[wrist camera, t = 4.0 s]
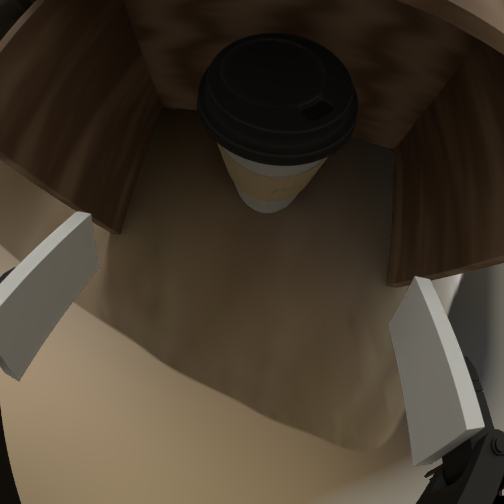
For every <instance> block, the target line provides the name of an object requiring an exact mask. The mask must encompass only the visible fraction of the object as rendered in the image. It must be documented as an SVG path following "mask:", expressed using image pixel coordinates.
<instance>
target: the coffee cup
mask: <svg viewBox="0 0 504 504" xmlns="http://www.w3.org/2000/svg"><path fill="white" fill-rule="evenodd" d="M197 109H198V114H199V118H200V120H201V123H202V124H203V126H204V128H205V129H206V131H207V132H208V134H209V135H210V136H211V137H212V138H213V139H214V140H215V141H216V142H217V144H218V147H219V149H220V152H221V155H222V157H223V160H224V162H225V165H226V168H227V170H228V173H229V175H230V177H231V179H232V180H233V181H234V184H235V186H236V189H237V191H238V193H239V196H240V197H241V199H242V200H243V201H244V203H245V204H247V205H248V206H249V207H250V208H252V209H253V210H255V211H258V212H261V213H274V212H278V211H280V210H282V209H284V208H286V207H287V206H288V205H289V204H290V203H291V202H292V201H293V200H294V199H295V197H296V196H297V195H298V193H299V192H300V191H301V190H303V189H304V188H305V187H306V186H307V184H308V183H309V182H310V180H311V179H312V178H313V176H314V175H315V174H316V172H317V171H318V170H319V168H320V167H321V166H322V164H323V163H324V162H325V160H326V159H327V158H328V156H330V155H331V154H333V153H335V152H336V151H337V150H339V149H340V148H341V147H342V146H343V145H344V144H345V143H346V142H347V141H348V139H349V138H350V136H351V134H352V133H353V130H354V128H355V125H356V121H357V114H358V97H357V94H356V90H355V88H354V86H353V83H352V80H351V77H350V74H349V72H348V70H347V69H346V67H345V66H344V64H343V63H342V62H341V61H340V59H339V58H338V57H337V56H335V55H334V54H333V53H332V52H331V51H329V50H328V49H326V48H325V47H323V46H321V45H320V44H318V43H316V42H313V41H311V40H309V39H306V38H303V37H299V36H295V35H290V34H282V33H264V34H257V35H252V36H248V37H244V38H242V39H239V40H237V41H235V42H233V43H231V44H229V45H228V46H226V47H225V48H224V49H222V50H221V51H220V52H219V53H218V54H217V55H216V56H215V58H214V59H213V61H212V63H211V64H210V65H209V66H208V68H207V69H206V71H205V72H204V74H203V76H202V78H201V80H200V83H199V87H198V96H197Z"/></svg>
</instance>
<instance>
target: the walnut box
mask: <svg viewBox="0 0 504 504" xmlns="http://www.w3.org/2000/svg"><path fill="white" fill-rule="evenodd" d="M264 33H282V34H290V35H295V36H299V37H303V38H306V39H309V40H311V41H313V42H316V43H318V44H320V45H321V46H323V47H325V48H326V49H328V50H329V51H331V52H332V53H333V54H334V55H335V56H337V57H338V58H339V59H340V61H341V62H342V63H343V64H344V66H345V67H346V69H347V70H348V72H349V74H350V77H351V80H352V83H353V86H354V88H355V90H356V94H357V97H358V114H357V121H356V125H355V128H354V130H353V133H352V134H351V136H350V137H351V138H355V139H358V140H362V141H366V142H369V143H373V144H376V145H380V146H383V147H386V148H390V149H393V150H394V191H393V218H392V235H391V248H390V259H389V269H388V278H387V286H392V287H402V286H407V285H410V284H411V282H412V281H413V279H414V277H415V276H417V277H422V278H427V279H430V280H435V279H439V278H444V277H448V276H452V275H457V274H461V273H465V272H469V271H473V270H477V269H481V268H485V267H489V266H493V265H497V264H501V263H504V0H36V1H35V2H34V3H33V4H32V5H31V7H30V8H29V9H28V10H27V11H26V12H25V13H24V14H23V15H22V16H21V17H20V18H19V20H18V21H17V22H16V23H15V24H14V25H13V26H12V28H11V29H10V30H9V31H8V32H7V34H6V35H5V36H4V37H3V39H2V40H1V41H0V160H2V161H3V162H4V163H6V164H7V165H9V166H10V167H11V168H13V169H14V170H16V171H17V172H18V173H20V174H21V175H23V176H24V177H26V178H27V179H29V180H30V181H31V182H33V183H34V184H36V185H37V186H39V187H40V188H42V189H43V190H45V191H46V192H48V193H49V194H51V195H52V196H54V197H55V198H57V199H58V200H60V201H61V202H63V203H64V204H66V205H67V206H69V207H70V208H72V209H74V210H75V211H79V212H84V213H90V214H91V216H92V222H94V223H96V224H97V225H99V226H100V227H102V228H104V229H105V230H107V231H108V232H111V233H116V234H120V232H121V228H122V224H123V221H124V217H125V214H126V210H127V207H128V204H129V201H130V197H131V194H132V191H133V188H134V185H135V182H136V179H137V176H138V173H139V170H140V167H141V164H142V161H143V158H144V156H145V153H146V150H147V147H148V145H149V142H150V139H151V137H152V134H153V132H154V129H155V127H156V124H157V122H158V119H159V117H160V114H161V112H162V109H163V108H177V109H189V110H198V109H197V96H198V87H199V83H200V80H201V78H202V76H203V74H204V72H205V71H206V69H207V68H208V66H209V65H210V64H211V63H212V61H213V59H214V58H215V56H216V55H217V54H218V53H219V52H220V51H221V50H222V49H224V48H225V47H226V46H228V45H229V44H231V43H233V42H235V41H237V40H239V39H242V38H244V37H248V36H252V35H257V34H264Z"/></svg>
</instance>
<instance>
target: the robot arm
mask: <svg viewBox="0 0 504 504" xmlns="http://www.w3.org/2000/svg"><path fill="white" fill-rule="evenodd" d="M35 1H36V0H0V41H1V40H2V39H3V37H4V36H5V35H6V34H7V32H8V31H9V30H10V29H11V28H12V26H13V25H14V24H15V23H16V22H17V21H18V20H19V18H20V17H21V16H22V15H23V14H24V13H25V12H26V11H27V10H28V9H29V8H30V7H31V5H32V4H33V3H34V2H35ZM99 268H100V267H99V262H98V256H97V251H96V244H95V238H94V231H93V224H92V216H91V214H90V213H84V212H79V211H77V212H76V213H74V214H73V215H72V216H71V217H70V218H68V219H67V220H66V221H65V222H64V223H63V224H61V225H60V226H59V227H58V228H57V229H56V230H55V231H54V232H52V233H51V234H50V235H49V236H48V237H47V238H46V239H45V240H44V241H43V242H41V243H40V244H39V245H38V246H37V247H36V248H35V249H34V250H33V251H32V252H31V253H30V254H29V255H28V256H27V257H26V258H25V259H24V260H23V261H22V262H21V263H20V264H19V265H18V266H17V267H14V268H12V269H11V270H9V271H8V272H6V273H4V274H3V275H2V276H1V277H0V366H1V368H2V369H3V371H4V372H5V373H6V374H8V375H9V376H11V377H12V378H14V379H16V380H17V381H20V379H21V377H22V376H23V374H24V373H25V371H26V369H27V368H28V366H29V365H30V363H31V361H32V360H33V358H34V357H35V355H36V354H37V352H38V351H39V349H40V347H41V346H42V345H43V343H44V342H45V340H46V339H47V337H48V336H49V334H50V333H51V331H52V330H53V329H54V327H55V326H56V324H57V323H58V321H59V320H60V319H61V317H62V315H63V314H64V313H65V312H66V310H67V309H68V308H69V306H70V305H71V304H72V302H73V301H74V300H75V298H76V297H77V296H78V294H79V293H80V292H81V290H82V289H83V288H84V286H85V285H86V284H87V283H88V281H89V280H90V279H91V278H92V276H93V275H94V274H95V272H96V271H97V270H98V269H99ZM388 327H389V331H390V335H391V340H392V344H393V348H394V353H395V357H396V362H397V366H398V371H399V376H400V381H401V387H402V392H403V397H404V403H405V409H406V415H407V422H408V428H409V436H410V443H411V451H412V460H413V466H419V465H427V464H432V463H433V462H435V461H437V460H438V459H440V458H441V457H442V461H443V464H441V465H440V466H438V467H436V468H434V469H433V470H431V471H429V472H428V473H427V474H426V475H425V476H424V477H426V478H427V477H429V476H430V475H432V474H434V475H433V477H432V478H431V479H429V480H430V482H429V484H428V485H427V487H426V489H425V491H424V492H423V494H422V495H421V497H420V498H419V500H418V501H417V503H416V504H504V496H502V490H503V489H504V432H503V431H501V430H498V429H494V426H493V423H492V420H491V416H490V413H489V409H488V406H487V402H486V399H485V396H484V393H483V392H482V390H483V389H482V386H481V384H480V383H479V378H478V375H477V372H476V369H475V367H474V366H473V364H472V363H471V361H470V360H469V359H468V357H463V355H462V352H461V350H460V347H459V344H458V342H457V339H456V337H455V335H454V332H453V329H452V327H451V325H450V322H449V320H448V318H447V315H446V313H445V311H444V308H443V306H442V304H441V302H440V299H439V297H438V295H437V293H436V291H435V289H434V287H433V285H432V282H431V280H430V279H427V278H422V277H417V276H415V277H414V279H413V281H412V282H411V284H410V286H409V288H408V290H407V292H406V294H405V296H404V297H403V299H402V301H401V303H400V305H399V306H398V308H397V310H396V312H395V313H394V315H393V317H392V318H391V320H390V322H389V323H388ZM0 504H21V501H20V498H19V495H18V492H17V488H16V485H15V481H14V478H13V474H12V470H11V466H10V461H9V457H8V452H7V447H6V442H5V436H4V430H3V423H2V416H1V408H0Z"/></svg>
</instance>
